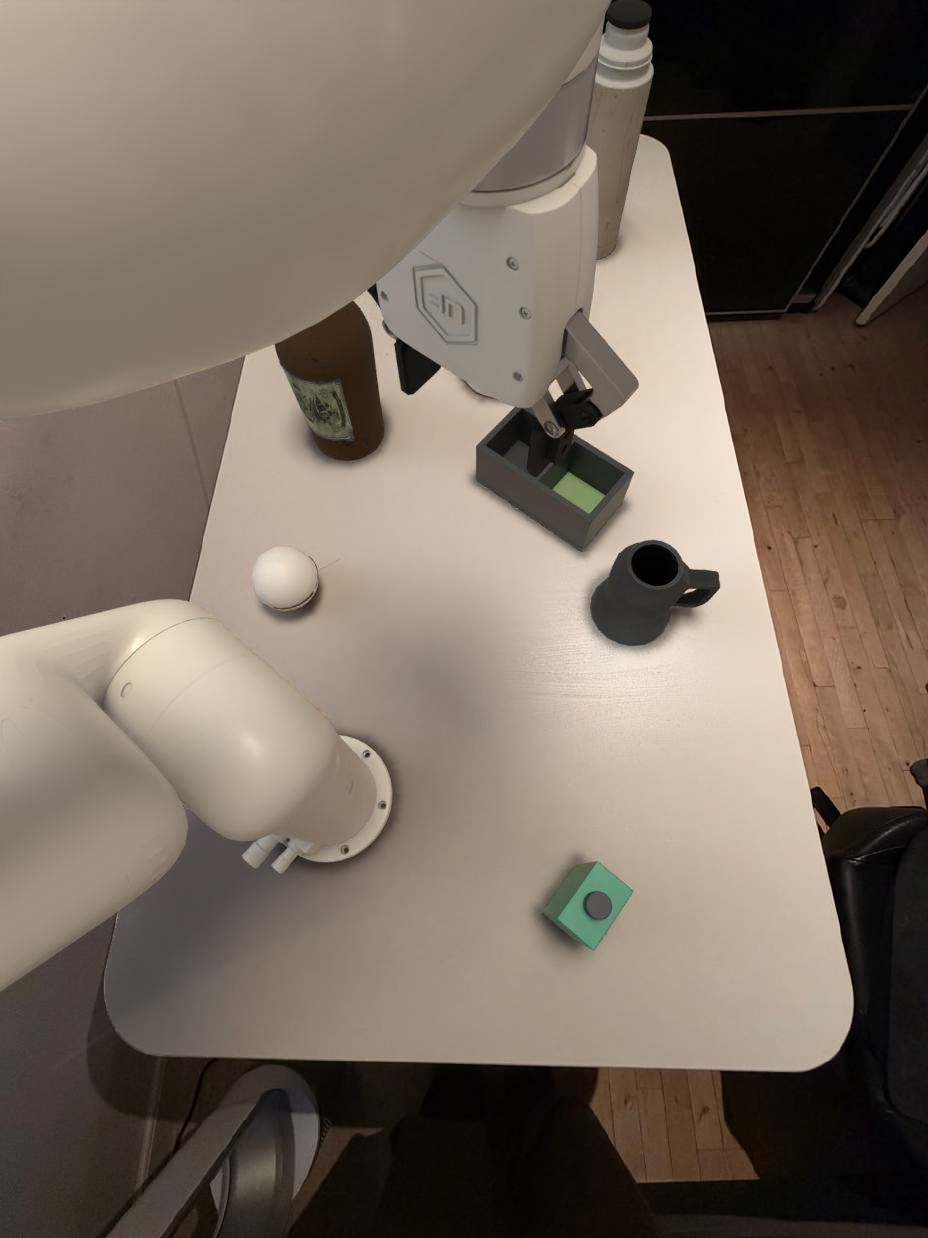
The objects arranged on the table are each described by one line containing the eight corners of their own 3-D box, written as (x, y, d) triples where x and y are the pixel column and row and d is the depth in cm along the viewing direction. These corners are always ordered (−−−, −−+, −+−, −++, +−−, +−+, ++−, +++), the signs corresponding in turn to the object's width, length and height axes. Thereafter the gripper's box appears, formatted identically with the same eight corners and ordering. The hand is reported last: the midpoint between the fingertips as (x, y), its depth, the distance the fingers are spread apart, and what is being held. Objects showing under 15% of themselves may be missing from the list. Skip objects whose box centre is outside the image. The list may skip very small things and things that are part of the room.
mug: (591, 644, 72) (611, 604, 61) (588, 572, 75) (607, 522, 65) (698, 648, 71) (736, 608, 61) (691, 575, 75) (726, 526, 65)
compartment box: (581, 552, 76) (591, 522, 70) (475, 479, 81) (475, 445, 74) (622, 504, 79) (634, 471, 73) (517, 436, 83) (520, 400, 77)
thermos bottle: (613, 223, 98) (663, -13, 72) (617, 259, 95) (671, 27, 69) (562, 223, 98) (592, -12, 72) (564, 260, 95) (597, 28, 69)
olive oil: (330, 390, 86) (277, 211, 63) (401, 412, 85) (374, 236, 62) (295, 451, 83) (225, 284, 60) (369, 474, 81) (327, 312, 58)
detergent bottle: (572, 938, 60) (597, 953, 48) (541, 912, 61) (559, 920, 49) (606, 889, 62) (638, 891, 50) (576, 864, 63) (600, 860, 51)
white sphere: (264, 626, 73) (243, 600, 67) (261, 569, 76) (240, 539, 69) (350, 612, 74) (338, 585, 67) (344, 556, 77) (331, 525, 70)
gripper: (246, 62, 24) (337, 387, 40) (631, 261, 20) (561, 538, 35) (379, -23, 26) (415, 317, 42) (752, 139, 22) (635, 451, 38)
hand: (482, 418), depth 39 cm, fingers open, 9 cm apart
